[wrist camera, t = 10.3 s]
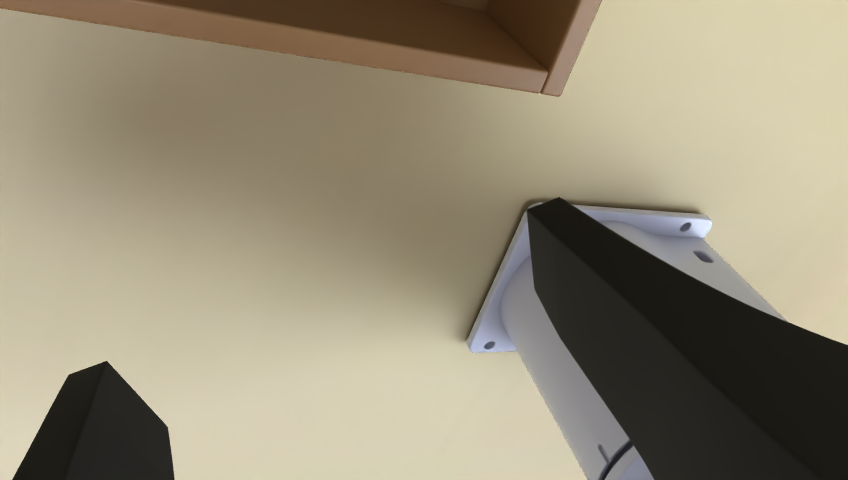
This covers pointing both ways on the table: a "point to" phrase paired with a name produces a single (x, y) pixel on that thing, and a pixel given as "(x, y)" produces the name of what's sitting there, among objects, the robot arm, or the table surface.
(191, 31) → the box
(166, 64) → the table surface
